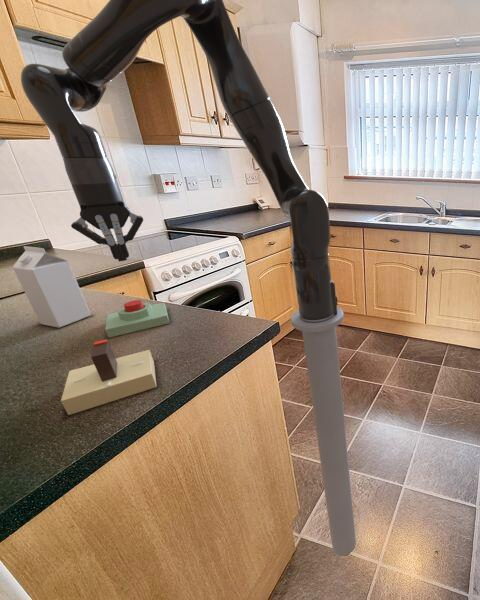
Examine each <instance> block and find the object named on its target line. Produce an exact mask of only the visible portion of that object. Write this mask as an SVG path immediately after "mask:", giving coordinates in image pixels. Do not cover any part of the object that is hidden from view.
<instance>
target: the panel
mask: <svg viewBox="0 0 480 600" xmlns="http://www.w3.org/2000/svg"><path fill="white" fill-rule="evenodd" d="M115 358H116V357H115ZM116 361H117V377H116V378H112V379H109V380H106V381H101V378H100V376H99V374H98V372H97V369H96V367H95V365H94V363H93V364H90V365H87V366H83V367H78V368H74V369H72V370H69V372H68V374H67V378H66V381H65V384H64V388H63V392H62V395H61V399H60V402H61V404H62V406H63V408H64V410H65V412H66V414H67V415H68V416H71V415H75V414H77V413H81V412H83V411H86V410H89V409H92V408H96V407H99V406H102V405H105V404H108V403H111V402H114V401H118V400H121V399H124V398H127V397H130V396H133V395H136V394H140V393H143V392H145V391H149V390H153V389H155V388H157V379H156V368H155V361H154V358H153V354H152V353H151V350H150V349H147V350H143V351H139V352H135V353H131V354H127V355H124V356H119V357H117V358H116Z"/></svg>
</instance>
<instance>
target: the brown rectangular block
mask: <svg viewBox="0 0 480 600" xmlns="http://www.w3.org/2000/svg"><path fill="white" fill-rule="evenodd" d="M91 350H92V351H91V355H90V359H91V360H92V363H93V364H94V365H95V367H96V369H97V372H98V374H99V376H100V378H101V381H106V380H109V379H112V378H116V377H117V361H116V356H115V354H114V352H113V348H112V346H111V343H110V342H109V340H108V339H102V340H98V341H94V342H93V344H92V349H91Z"/></svg>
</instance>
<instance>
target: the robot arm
mask: <svg viewBox="0 0 480 600" xmlns="http://www.w3.org/2000/svg"><path fill="white" fill-rule="evenodd" d="M179 17H181V18H183V20H184V21H185V23H186V25H187V26H188V28H189V29H190V30H191V32H192V34H193V35H194V37H195V39H196V41H197V43H198V44H199V46H200V47H201V49H202V51H203V52H204V54H205V56H206V59H207V61H208V64H209V66H210V70H211V73H212V77H213V81H214V84H215V87H216V91H217V94H218V96H219V100H220V103H221V104H222V107H223V109H224V111H225V113H226V115H227V116H228V119H229V120H230V122H231V124H232V125H233V127H234V129H235V130H236V133H237V134H238V136H239V137H240V139H241V141H242V142H243V144H244V145H245V147H246V148H247V150H248V152H249V153H250V155H251V156H252V158H253V159H254V160H255V162H256V164H257V166H258V167H259V168H260V170H261V171H262V173H263V174H264V176H265V178H266V180H267V182H268V184H269V186H270V188H271V190H272V192H273V194H274V197H275V199H276V201H277V203H278V206H279V209H280V210H281V212H282V214H283V217H285V219H286V220H287V222H289V223H290V225H291V234H292V243H291V244H290V256H291V263H292V268H293V276H294V284H295V291H296V297H297V305H298V306H297V307H298V310H299V313H300V314H299V316H300V319H301V320H302V321H304V322H309V323H318V322H323V321H327V320H329V319H331V318H332V317H333V316H335V315H337V307H338V305H339V304H338V296H337V295H336V294H337V293H336V284H335V282H334V281H333V280H332V271H331V262H330V250H329V249H330V248H329V247H330V245H331V244H330V243H331V224H330V223H331V222H330V212H329V207H328V203H327V201H326V199H325V197H324V196H323V195H322V194H321V193H320V192H318V191H317V190H315V189H310V188H309V187H308V186H307V184H306V183H305V182H304V179H303V178H302V176H301V174H300V173H299V171H298V168H297V167H296V165H295V163H294V161H293V158H292V155H291V151H290V147H289V141H288V139H287V134H286V130H285V127H284V125H283V123H282V120H281V118H280V115H279V113H278V111H277V109H276V107H275V105H274V103H273V101H272V99H271V97H270V95H269V93H268V92H267V90H266V88H265V86H264V84H263V82H262V80H261V78H260V76H259V74H258V73H257V71H256V69H255V67H254V65H253V63H252V61H251V59H250V57H249V56H248V54H247V53H246V50H245V49H244V47H243V45H242V43H241V41H240V39H239V36H238V34H237V33H236V29H235V27H234V26H233V23H232V20H231V18H230V15H229V12H228V10H227V8H226V6H225V3H224V1H223V0H109V1H108V2H107V3H106V4H105V5H104V6H103V8H102V9H101V10H100V11H99V12H98V14H96V15H95V17H94V18H92V20H90V22H88V23H87V24H86V25H85V26H84V27H83V28H82V29H81V30H80V31H78V32H77V33H76V35H74V36H73V37H72V38H71V39H70V40H69V41H68V42H67V43H66V44H65V46H64V47H63V49H62V51H61V56H62V59H63V61H64V63H65V65H66V66H67V68H65V69H63V68H58V67H55V66H51V65H45V64H41V63H28V64H26V65H25V66H24V67H23V68H22V69H21V73H20V83H21V84H20V85H21V87H22V90H23V92H24V94H25V96H26V98H27V99H28V101H29V103H30V104H31V106H32V107H33V108H34V110H35V111H36V113H37V114H38V115H39V117H40V119H41V120H42V121H43V123H44V124H45V126H46V127H47V128H48V130H49V131H50V132H51V134H52V135H53V137H54V140H55V141H56V145H57V147H58V150H59V152H60V155H61V157H62V160H63V165H64V169H65V172H66V175H67V177H68V180H69V183H70V185H71V187H72V190H73V193H74V195H75V199H76V200H77V203H78V205H79V209H80V211H79V216H80V217H79V218H78V219H77V220H75V221H73V222H72V223H71V224H70V227H71V228H72V229H73V230H75V231H77V232H78V233H80V234H81V235H83V236H84V237H87V238H88V239H90V240H91V241H93V242H94V243H96V244H98V245H106V246H108V247H109V250H110V252H111V255H112V257H113V258H114V260H118V262H125V261H128V258H130V253H129V250H128V247H127V245H126V243H127V242H131V241H133V240H134V238H135V236H136V234H137V232H138V231H139V230H140V227H141V225H142V224H143V222H144V217H143V215H138V214H136V213H134V212H131V210H130V208H129V207H128V206H127V205H126V203H125V200H124V197H123V194H122V191H121V189H120V186H119V182H118V180H117V175H116V173H115V171H114V167H113V166H112V164H111V162H110V160H109V158H108V155H107V152H106V149H105V146H104V144H103V143H104V142H103V140H102V138H101V135H100V133H99V131H98V130H97V129H96V128H94V127H92V126H90V125H87V124H85V123H83V122H82V121H80V119H79V118H78V116H77V115H76V114H75V112H76V113H85V112H89V111H91V110H92V109H94V108H96V107H97V106H98V105H99V104H100V102H101V101H102V98H103V96H104V95H105V93H106V91H107V88H108V86H109V84H110V83H111V82H112V81H114V80H115V79H116V78H117V77H118V76H119V75H121V74H122V73H123V72H124V71H125V70H127V69H128V68H129V66H131V64H133V62H134V60H135V59H136V58H137V56H138V54H139V52H140V50H141V49H142V47H143V46H144V43H146V40H147V39H148V38H149V37H150V36H151V35H152V34H153V33H154V32H155V31H156V30H157V29H159V28H161V26H164V25H165V24H167V23H170V22H171V21H173V20H175V19H177V18H179ZM128 219H130V220H129V221H130V223H131V227H130V228H129V230H128V231H127V233H126V234H125V235H124V232H123V228H124V227H125V225H126V223H127V221H128ZM89 224H90V225H91V226H92V227H94V228H95V229H97V230H100V231H101V232H102V235H103V236H101V235H100V234H98V233H96V231H93V230H92V229H91V228H89ZM112 230H113V231H114V234H113V233H112V232H113V231H112ZM114 236H115V237H114ZM115 238H116V239H115Z"/></svg>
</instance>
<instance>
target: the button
mask: <svg viewBox="0 0 480 600" xmlns="http://www.w3.org/2000/svg"><path fill="white" fill-rule="evenodd" d="M143 303H144V302H143V301H142V300H140V299H136V300H130V301H128V302H125V303H124V304H123V307H125V310H126V312H133V311H138V310H141V309H143V308H144V306H143Z"/></svg>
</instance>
